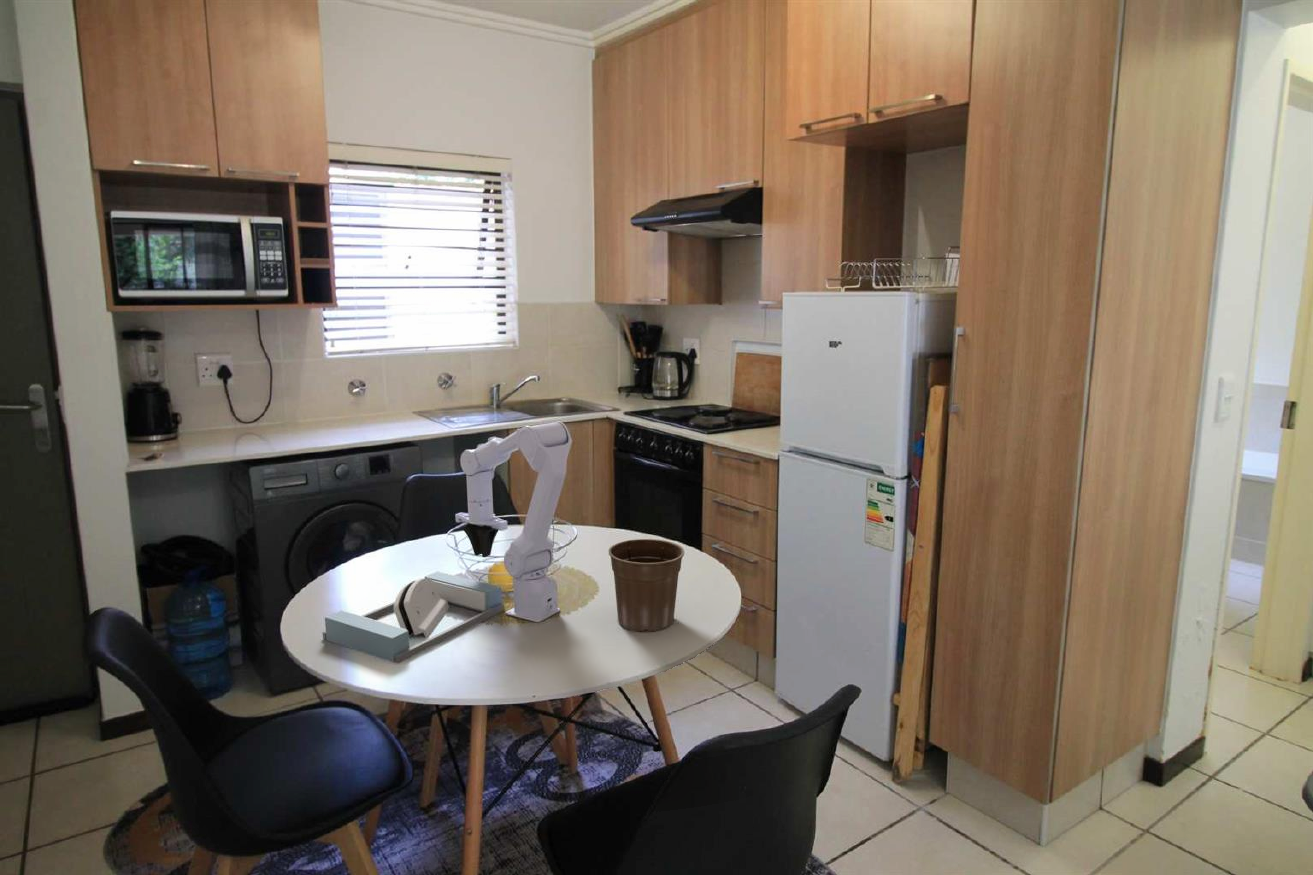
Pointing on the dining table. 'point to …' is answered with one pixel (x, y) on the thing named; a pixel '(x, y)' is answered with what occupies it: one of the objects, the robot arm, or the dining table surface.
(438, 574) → the block
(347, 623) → the vise
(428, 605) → the hinge
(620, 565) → the plant pot
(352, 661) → the dining table surface
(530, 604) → the robot arm
